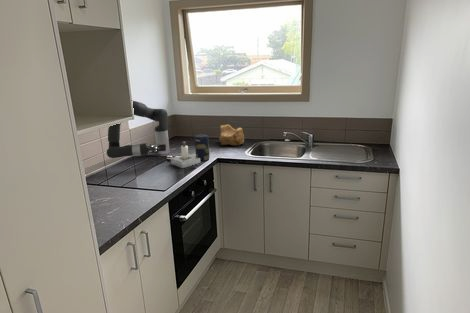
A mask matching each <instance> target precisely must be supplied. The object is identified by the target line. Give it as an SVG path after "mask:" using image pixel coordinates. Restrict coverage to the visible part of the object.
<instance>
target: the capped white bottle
mask: <svg viewBox="0 0 470 313" xmlns="http://www.w3.org/2000/svg"><path fill="white" fill-rule="evenodd" d="M180 153H181V155H180V156H182V160H186V159H189V156H188V154H189V146H188V145H186V141H182V145H181V146H180Z"/></svg>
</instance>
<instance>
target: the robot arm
mask: <svg viewBox="0 0 470 313" xmlns="http://www.w3.org/2000/svg"><path fill="white" fill-rule="evenodd" d="M132 101H133V108H134V115H133V116H137V117H141V118H147V119H149V120H152V121H154V122H158V125H157V126H154V135H155V136H154V137H155V143H152V144H149V145H148V143H146V142H145V143H134V144H128V145H123V146H121V145H120V139H121V138H120V137H121V125H122V124H121V123H122V122H121V123H120V124H116V125H113V126H110V127H109V126H108V129H107V141H108V148H107V150H106V156H107V157H108V158H110V159H115V158H116V159H117V158H123V157H134V156H135V157H137V156H138V157H139V156H148V155H149V154H157V155H168V154H170V153H171V152H170V142H169V133H168V132H169V131H168V127H169V115H168V112H167V110H166V109H164V108H151V107H148V106H147V105H146V104H145V103H143V102H140V101H136V100H132Z"/></svg>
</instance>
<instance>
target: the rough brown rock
mask: <svg viewBox="0 0 470 313" xmlns="http://www.w3.org/2000/svg"><path fill="white" fill-rule="evenodd" d="M219 129H220V133H219V140H218V141H219V143H220V145H221V146H226V145H231V146H234V147H235V146H236V147H237V146H240V145H242V144H243V143H244V142H245V135H244V131H243V128H242V127H237V128H233V127H232V126H231V125H230V124H221V125H220V128H219Z"/></svg>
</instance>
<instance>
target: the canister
mask: <svg viewBox="0 0 470 313" xmlns="http://www.w3.org/2000/svg"><path fill="white" fill-rule="evenodd" d="M194 152H195V156H196V157H199V158H200V161H201V160H202V161H207V160H209V159H210V157H211V156H210V142H209V136H208V134H203V133H201V134H196V135H194Z"/></svg>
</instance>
